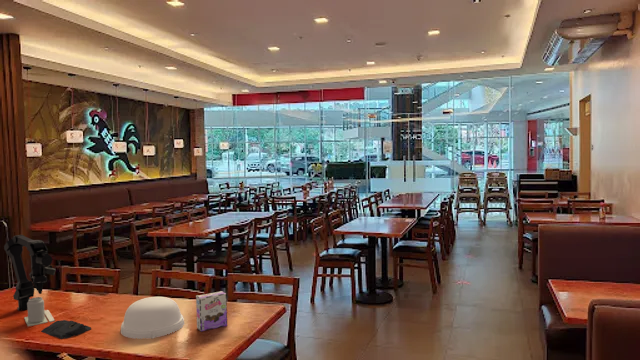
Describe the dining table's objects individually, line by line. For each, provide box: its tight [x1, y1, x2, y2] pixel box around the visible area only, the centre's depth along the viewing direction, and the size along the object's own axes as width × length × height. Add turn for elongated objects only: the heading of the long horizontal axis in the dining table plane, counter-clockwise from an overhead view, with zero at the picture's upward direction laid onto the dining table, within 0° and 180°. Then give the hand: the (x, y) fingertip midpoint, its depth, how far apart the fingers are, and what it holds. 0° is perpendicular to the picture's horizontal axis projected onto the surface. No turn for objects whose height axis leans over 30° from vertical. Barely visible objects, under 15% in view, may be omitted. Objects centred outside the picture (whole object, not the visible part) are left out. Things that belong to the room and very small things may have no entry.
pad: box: [24, 316, 49, 327], centre depth 255 cm, size 16×9×1 cm, turn 37°
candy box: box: [195, 290, 228, 332], centre depth 238 cm, size 14×6×16 cm, turn 122°
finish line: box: [44, 309, 56, 323], centre depth 261 cm, size 22×2×1 cm, turn 37°
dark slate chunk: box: [40, 319, 92, 340], centre depth 239 cm, size 15×22×5 cm
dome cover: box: [120, 296, 185, 340], centre depth 240 cm, size 32×30×14 cm
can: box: [26, 296, 46, 323], centre depth 251 cm, size 8×8×12 cm
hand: (39, 291), depth 265 cm, fingers open, 9 cm apart
